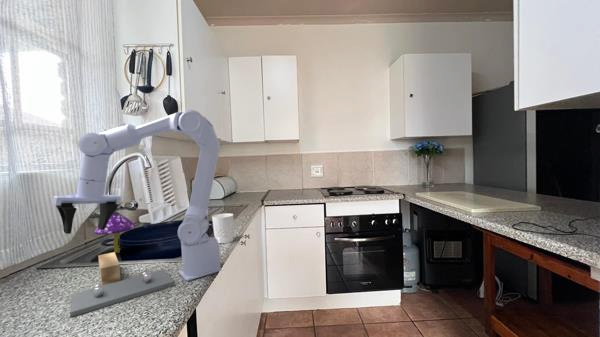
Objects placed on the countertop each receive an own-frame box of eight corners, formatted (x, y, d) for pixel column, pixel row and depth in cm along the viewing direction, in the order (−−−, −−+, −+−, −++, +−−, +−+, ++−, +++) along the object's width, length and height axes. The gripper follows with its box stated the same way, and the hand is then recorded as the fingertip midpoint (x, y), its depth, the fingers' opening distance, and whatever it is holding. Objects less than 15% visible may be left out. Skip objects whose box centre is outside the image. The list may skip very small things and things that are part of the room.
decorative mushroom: (142, 252, 98) (138, 210, 97) (98, 262, 89) (95, 216, 89) (133, 245, 107) (130, 207, 106) (93, 254, 98) (90, 212, 98)
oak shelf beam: (115, 268, 84) (114, 252, 84) (120, 282, 73) (119, 264, 73) (99, 272, 81) (98, 255, 81) (102, 287, 70) (100, 268, 70)
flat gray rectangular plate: (163, 272, 78) (162, 262, 78) (173, 285, 69) (173, 273, 69) (71, 298, 65) (70, 285, 65) (70, 317, 57) (69, 303, 56)
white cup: (210, 241, 106) (208, 216, 105) (228, 237, 111) (227, 212, 111) (219, 245, 100) (217, 218, 100) (238, 240, 105) (237, 214, 105)
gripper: (114, 178, 80) (107, 224, 80) (51, 176, 67) (42, 230, 68) (127, 182, 77) (120, 230, 77) (63, 180, 64) (55, 238, 64)
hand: (85, 230), depth 72 cm, fingers open, 7 cm apart
